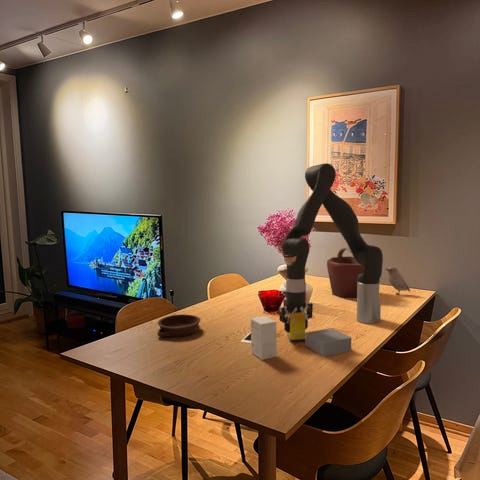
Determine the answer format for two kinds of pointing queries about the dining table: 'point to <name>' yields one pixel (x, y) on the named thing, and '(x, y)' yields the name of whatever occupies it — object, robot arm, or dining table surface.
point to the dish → (178, 325)
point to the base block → (328, 342)
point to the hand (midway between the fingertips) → (296, 330)
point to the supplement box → (297, 327)
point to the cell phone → (247, 339)
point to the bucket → (344, 275)
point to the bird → (397, 280)
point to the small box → (263, 337)
